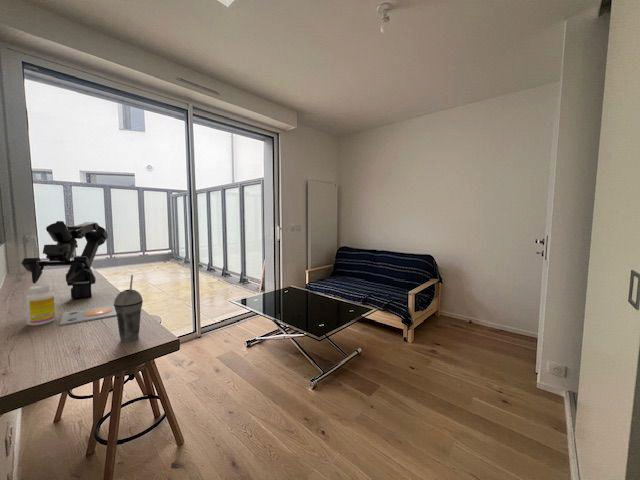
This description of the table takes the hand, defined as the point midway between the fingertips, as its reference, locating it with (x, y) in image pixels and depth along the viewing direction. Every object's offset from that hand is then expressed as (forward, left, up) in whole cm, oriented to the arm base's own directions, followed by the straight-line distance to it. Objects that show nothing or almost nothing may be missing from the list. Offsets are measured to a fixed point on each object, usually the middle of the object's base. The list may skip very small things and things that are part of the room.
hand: (50, 282), depth 95 cm
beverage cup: (-20, +40, -13) cm, 47 cm away
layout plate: (-11, +7, -13) cm, 18 cm away
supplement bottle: (+2, +6, -13) cm, 15 cm away
